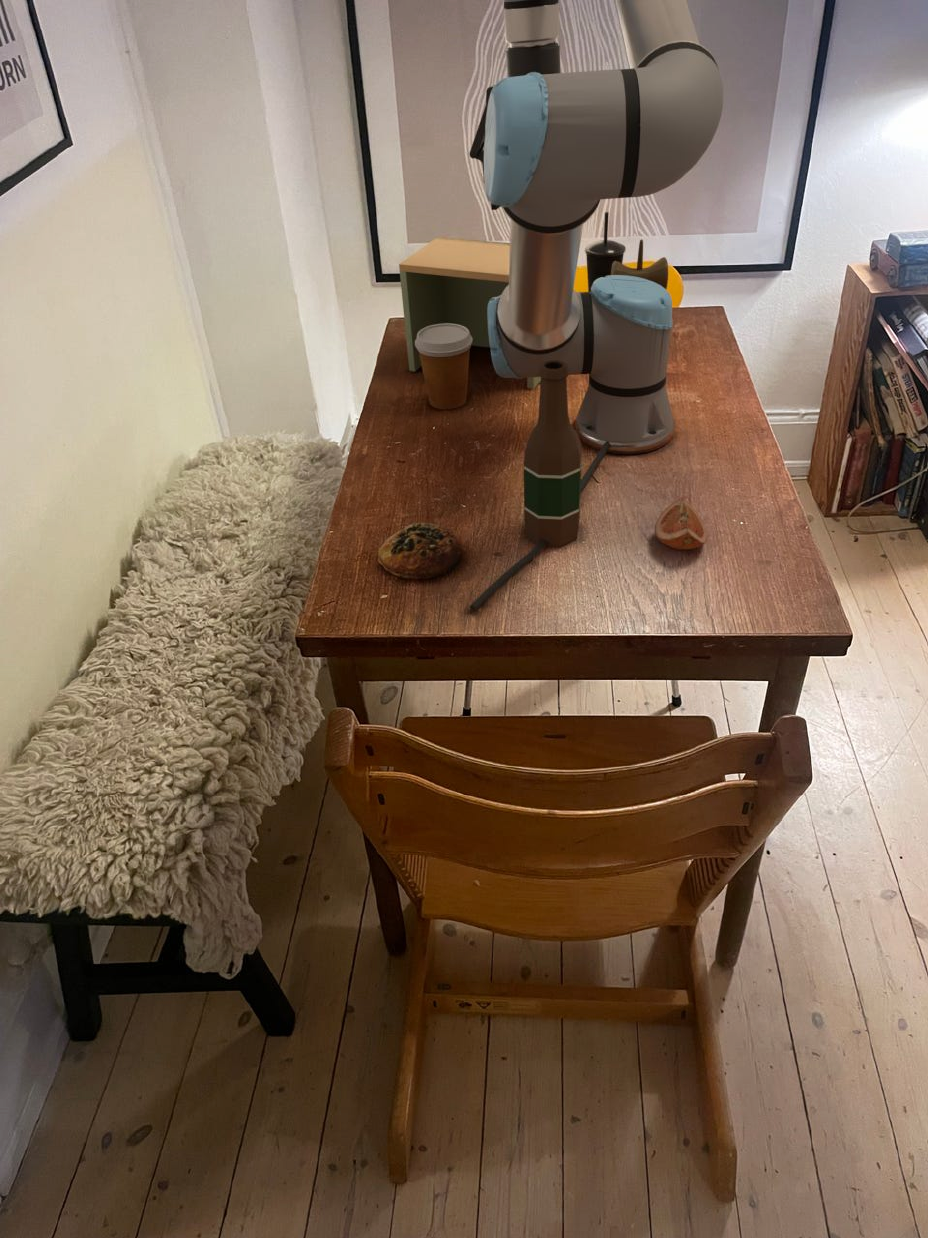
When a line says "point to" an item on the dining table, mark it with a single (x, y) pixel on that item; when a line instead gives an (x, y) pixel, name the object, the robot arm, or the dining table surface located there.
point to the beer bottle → (552, 464)
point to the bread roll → (420, 552)
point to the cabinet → (453, 289)
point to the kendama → (644, 269)
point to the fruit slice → (680, 526)
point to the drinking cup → (602, 256)
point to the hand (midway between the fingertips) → (538, 207)
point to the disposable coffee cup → (445, 363)
